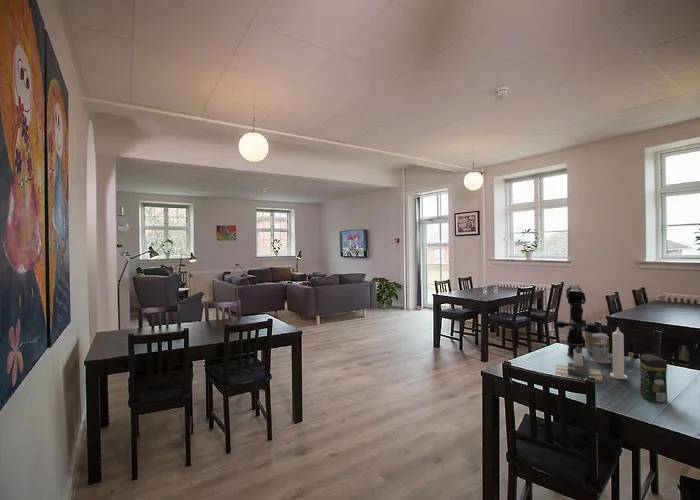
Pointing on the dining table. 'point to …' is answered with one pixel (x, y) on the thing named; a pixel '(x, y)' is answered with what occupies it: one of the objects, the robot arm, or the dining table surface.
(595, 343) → the french press
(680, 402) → the dining table surface
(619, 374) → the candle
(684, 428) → the dining table surface
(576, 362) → the lever
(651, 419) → the dining table surface
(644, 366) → the coffee jar
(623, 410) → the dining table surface
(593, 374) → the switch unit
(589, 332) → the coffee cup
